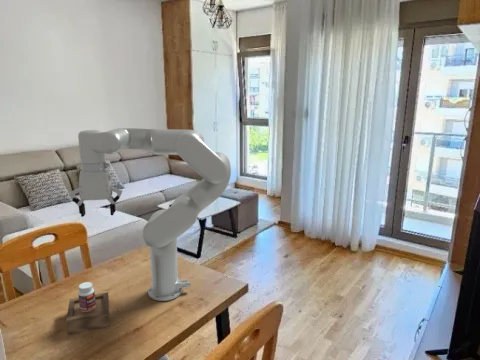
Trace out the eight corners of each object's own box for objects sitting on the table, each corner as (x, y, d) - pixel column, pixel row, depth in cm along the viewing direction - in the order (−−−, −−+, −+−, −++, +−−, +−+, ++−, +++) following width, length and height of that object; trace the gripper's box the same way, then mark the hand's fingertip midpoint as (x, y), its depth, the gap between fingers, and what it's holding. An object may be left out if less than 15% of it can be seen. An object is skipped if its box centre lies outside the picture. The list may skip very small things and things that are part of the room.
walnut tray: (109, 304, 121) (108, 292, 120) (109, 326, 110) (108, 312, 109) (71, 312, 117) (69, 299, 116) (68, 334, 106) (66, 320, 105)
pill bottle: (90, 313, 110) (87, 290, 108) (76, 311, 111) (74, 288, 109) (99, 304, 114) (96, 282, 112) (86, 303, 115) (83, 280, 113)
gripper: (121, 164, 122) (125, 210, 127) (69, 165, 119) (74, 212, 124) (118, 168, 115) (122, 217, 120) (62, 170, 112) (68, 220, 116)
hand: (98, 214), depth 122 cm, fingers open, 9 cm apart
